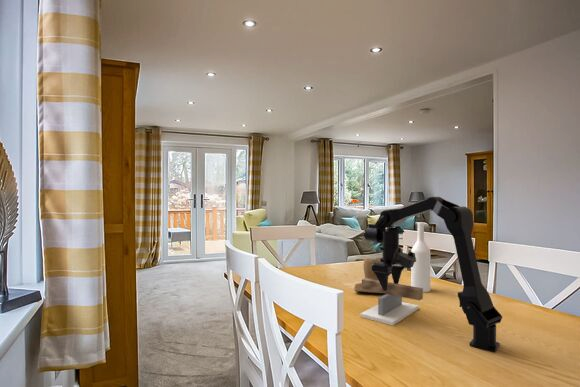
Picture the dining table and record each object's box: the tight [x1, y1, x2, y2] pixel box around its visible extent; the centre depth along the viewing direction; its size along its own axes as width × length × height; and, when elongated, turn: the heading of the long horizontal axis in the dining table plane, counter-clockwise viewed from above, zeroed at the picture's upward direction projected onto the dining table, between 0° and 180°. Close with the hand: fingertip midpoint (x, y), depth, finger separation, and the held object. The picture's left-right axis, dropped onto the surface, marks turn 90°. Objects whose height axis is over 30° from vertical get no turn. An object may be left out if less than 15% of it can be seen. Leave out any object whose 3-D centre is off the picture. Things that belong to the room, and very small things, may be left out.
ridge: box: [359, 293, 419, 326], centre depth 126 cm, size 22×12×7 cm, turn 139°
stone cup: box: [353, 257, 381, 294], centre depth 153 cm, size 15×12×15 cm
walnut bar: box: [361, 277, 424, 301], centre depth 126 cm, size 22×3×4 cm, turn 49°
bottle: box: [410, 221, 431, 293], centre depth 156 cm, size 8×8×30 cm
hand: (390, 287), depth 126 cm, fingers open, 9 cm apart
